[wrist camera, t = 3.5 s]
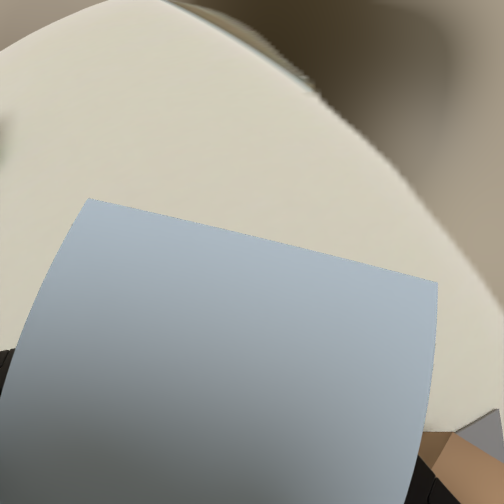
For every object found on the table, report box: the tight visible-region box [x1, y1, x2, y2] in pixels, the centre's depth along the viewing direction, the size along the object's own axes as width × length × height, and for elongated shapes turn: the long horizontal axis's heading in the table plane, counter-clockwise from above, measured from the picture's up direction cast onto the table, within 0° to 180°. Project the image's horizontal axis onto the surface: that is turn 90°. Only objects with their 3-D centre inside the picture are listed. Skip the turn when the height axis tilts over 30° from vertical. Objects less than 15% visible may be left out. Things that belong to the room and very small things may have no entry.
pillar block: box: [0, 198, 438, 504], centre depth 8 cm, size 6×6×11 cm
